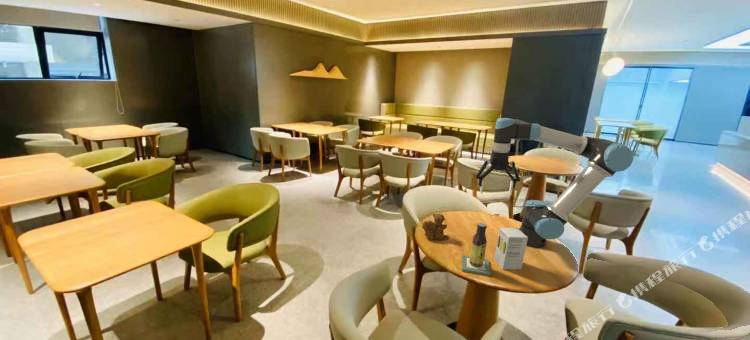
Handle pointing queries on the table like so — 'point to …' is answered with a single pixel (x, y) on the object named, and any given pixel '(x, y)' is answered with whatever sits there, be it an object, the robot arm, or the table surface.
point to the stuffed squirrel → (435, 228)
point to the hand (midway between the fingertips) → (495, 193)
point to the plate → (477, 270)
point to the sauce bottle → (478, 246)
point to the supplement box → (510, 248)
